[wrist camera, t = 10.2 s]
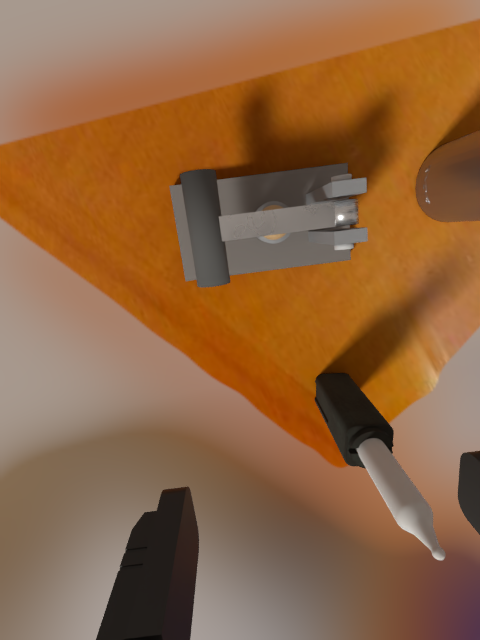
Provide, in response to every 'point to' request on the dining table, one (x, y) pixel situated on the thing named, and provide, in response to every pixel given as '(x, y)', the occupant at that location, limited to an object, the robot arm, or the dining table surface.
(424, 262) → the dining table surface
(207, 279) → the lever
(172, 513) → the robot arm
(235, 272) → the base
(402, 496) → the black and grey rod
